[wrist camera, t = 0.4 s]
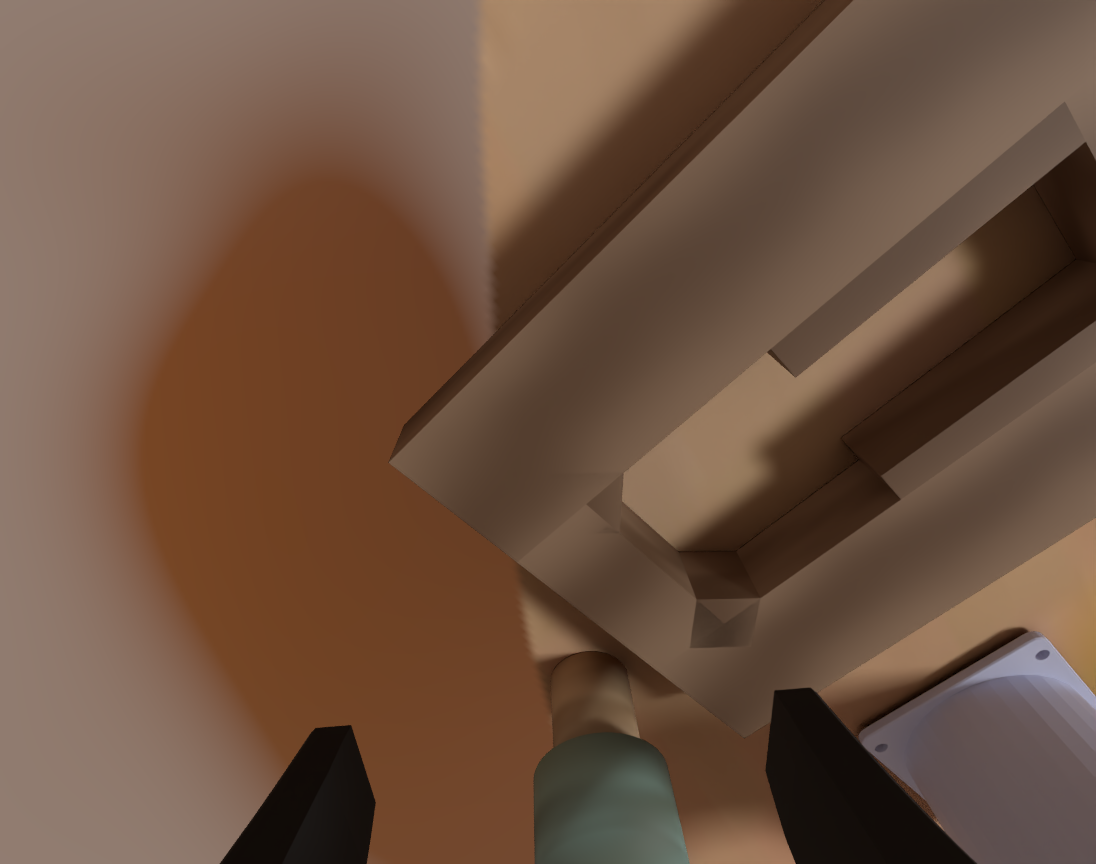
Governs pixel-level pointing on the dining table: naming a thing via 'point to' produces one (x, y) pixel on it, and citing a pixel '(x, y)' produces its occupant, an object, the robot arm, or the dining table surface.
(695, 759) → the dining table surface
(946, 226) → the keyhole board
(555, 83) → the dining table surface
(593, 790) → the peg
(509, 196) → the dining table surface
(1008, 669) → the robot arm
